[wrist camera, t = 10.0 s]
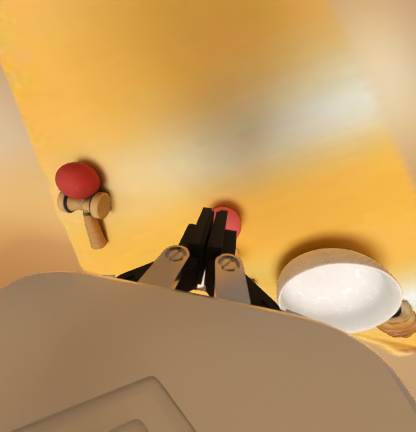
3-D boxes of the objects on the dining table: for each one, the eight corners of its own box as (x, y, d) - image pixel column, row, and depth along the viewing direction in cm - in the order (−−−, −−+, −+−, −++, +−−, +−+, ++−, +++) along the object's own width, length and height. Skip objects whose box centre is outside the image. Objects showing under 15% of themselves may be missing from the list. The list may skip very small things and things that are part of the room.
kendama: (126, 240, 41) (108, 164, 29) (103, 260, 36) (72, 179, 24) (99, 228, 42) (72, 152, 31) (74, 246, 37) (31, 164, 26)
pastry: (416, 324, 36) (433, 345, 33) (377, 330, 39) (389, 350, 36) (404, 296, 34) (421, 316, 30) (362, 305, 36) (374, 324, 33)
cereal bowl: (282, 228, 31) (291, 256, 25) (392, 238, 28) (432, 272, 22) (265, 293, 39) (269, 326, 33) (349, 305, 37) (370, 343, 31)
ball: (201, 246, 30) (207, 216, 33) (237, 252, 30) (240, 220, 33) (199, 231, 25) (206, 197, 28) (242, 238, 25) (245, 202, 27)
